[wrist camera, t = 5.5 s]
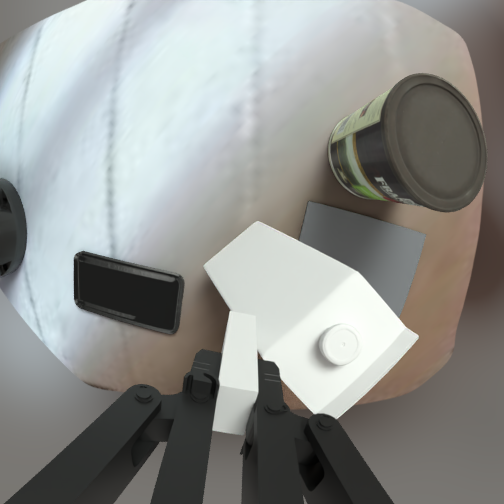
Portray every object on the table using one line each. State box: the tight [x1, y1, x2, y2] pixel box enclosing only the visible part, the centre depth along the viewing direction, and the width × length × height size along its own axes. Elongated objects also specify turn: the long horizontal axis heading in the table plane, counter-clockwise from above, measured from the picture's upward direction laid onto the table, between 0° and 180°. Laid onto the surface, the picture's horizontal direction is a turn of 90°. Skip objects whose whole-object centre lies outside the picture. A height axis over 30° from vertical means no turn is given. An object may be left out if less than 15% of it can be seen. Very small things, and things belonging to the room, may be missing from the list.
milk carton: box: [203, 221, 419, 419], centre depth 21 cm, size 7×7×19 cm
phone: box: [74, 251, 184, 334], centre depth 32 cm, size 8×1×15 cm
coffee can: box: [328, 73, 487, 212], centre depth 22 cm, size 10×10×14 cm
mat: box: [299, 201, 426, 318], centre depth 32 cm, size 16×16×1 cm
